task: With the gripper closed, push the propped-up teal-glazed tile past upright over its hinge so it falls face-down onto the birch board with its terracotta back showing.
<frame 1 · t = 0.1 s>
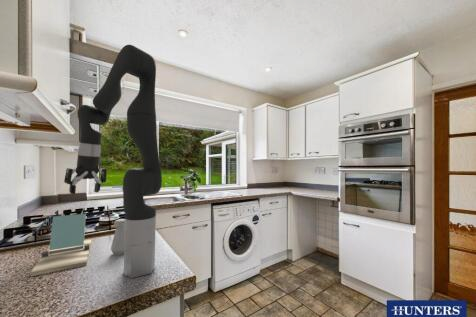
hand: (85, 193, 86), 23 cm above the countertop, tool pointing down, fingers open, 8 cm apart
salt shaker: (119, 253, 80), on the countertop
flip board: (66, 255, 77), on the countertop
tile: (68, 232, 79), point 8 cm above the countertop, hinge at 70.0°
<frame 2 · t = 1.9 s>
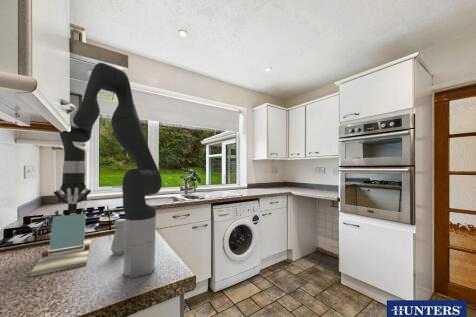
hand: (72, 212, 87), 14 cm above the countertop, tool pointing down, fingers closed
nothing on the countertop moved.
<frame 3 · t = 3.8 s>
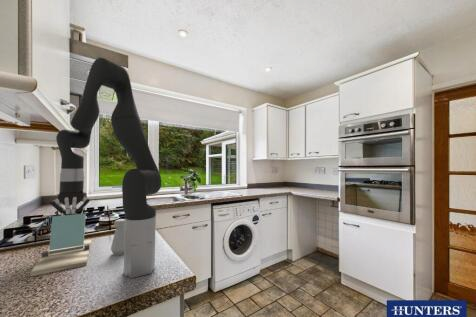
hand: (70, 223, 82), 11 cm above the countertop, tool pointing down, fingers closed
tile: (68, 232, 79), point 8 cm above the countertop, hinge at 75.3°, touching gripper
everything else where it was.
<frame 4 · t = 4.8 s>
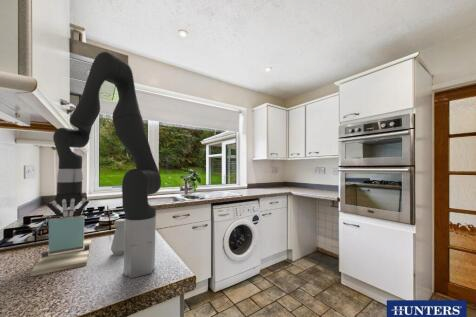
hand: (68, 226, 78), 11 cm above the countertop, tool pointing down, fingers closed
tile: (67, 234, 77), point 8 cm above the countertop, hinge at 99.8°, touching gripper
everything else where it was.
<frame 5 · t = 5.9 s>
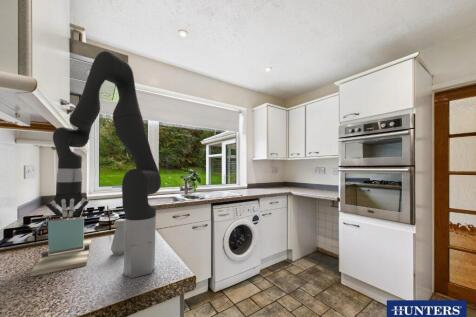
hand: (67, 226, 77), 11 cm above the countertop, tool pointing down, fingers closed
tile: (66, 235, 76), point 8 cm above the countertop, hinge at 105.7°
everything else where it was.
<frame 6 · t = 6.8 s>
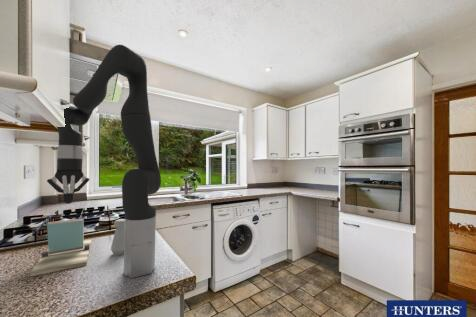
hand: (68, 203, 78), 20 cm above the countertop, tool pointing down, fingers closed
tile: (66, 236, 76), point 8 cm above the countertop, hinge at 111.6°
everything else where it was.
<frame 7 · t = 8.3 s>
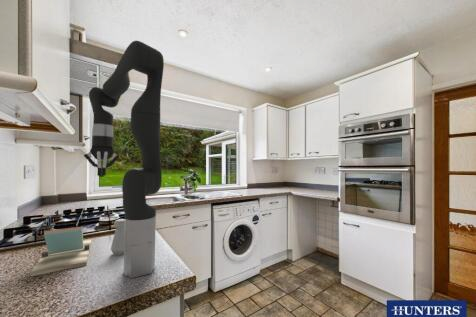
hand: (101, 176, 86), 29 cm above the countertop, tool pointing down, fingers closed
tile: (65, 241, 74), point 7 cm above the countertop, hinge at 131.2°
everything else where it was.
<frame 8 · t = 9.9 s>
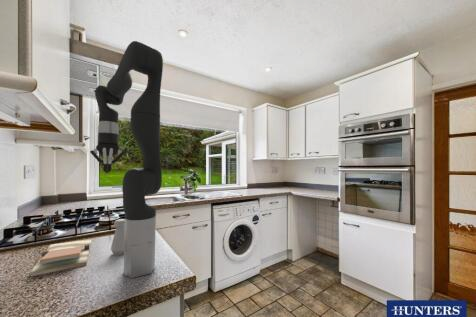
hand: (107, 172, 88), 31 cm above the countertop, tool pointing down, fingers closed
tile: (64, 253, 72), point 3 cm above the countertop, hinge at 171.8°
everything else where it was.
at the end: tile at +172° (first picture: +70°); salt shaker moved 0.2 cm from its start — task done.
